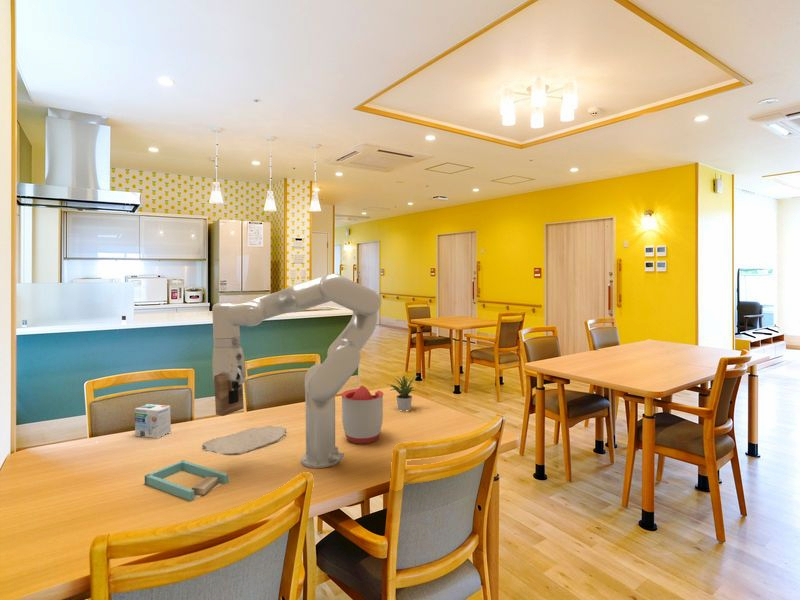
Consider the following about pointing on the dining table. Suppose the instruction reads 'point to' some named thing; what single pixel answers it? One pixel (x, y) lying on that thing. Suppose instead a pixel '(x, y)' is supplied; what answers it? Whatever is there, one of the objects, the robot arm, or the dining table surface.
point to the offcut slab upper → (205, 485)
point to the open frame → (178, 490)
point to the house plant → (403, 393)
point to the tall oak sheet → (226, 396)
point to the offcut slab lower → (210, 490)
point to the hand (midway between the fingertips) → (229, 401)
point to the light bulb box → (152, 420)
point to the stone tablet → (245, 440)
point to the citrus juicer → (362, 415)
